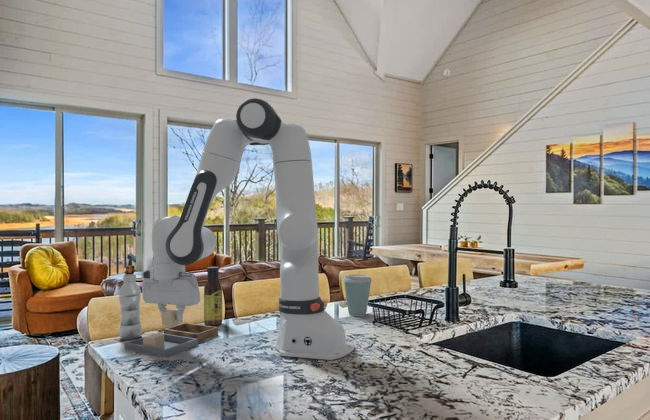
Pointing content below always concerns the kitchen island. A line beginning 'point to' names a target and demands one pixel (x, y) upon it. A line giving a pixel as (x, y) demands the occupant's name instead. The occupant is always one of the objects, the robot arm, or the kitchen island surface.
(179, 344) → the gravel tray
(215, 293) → the sauce bottle
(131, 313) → the plastic bottle
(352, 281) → the disposable coffee cup
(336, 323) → the robot arm
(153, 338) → the beige cube
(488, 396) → the kitchen island surface
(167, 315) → the cream matte cube
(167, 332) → the brown rectangular tray
